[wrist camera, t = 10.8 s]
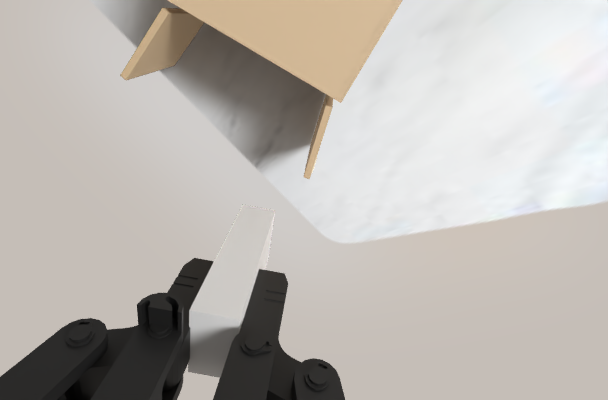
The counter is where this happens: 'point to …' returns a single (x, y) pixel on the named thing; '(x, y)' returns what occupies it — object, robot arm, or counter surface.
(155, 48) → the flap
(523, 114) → the counter surface
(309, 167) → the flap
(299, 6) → the carton
